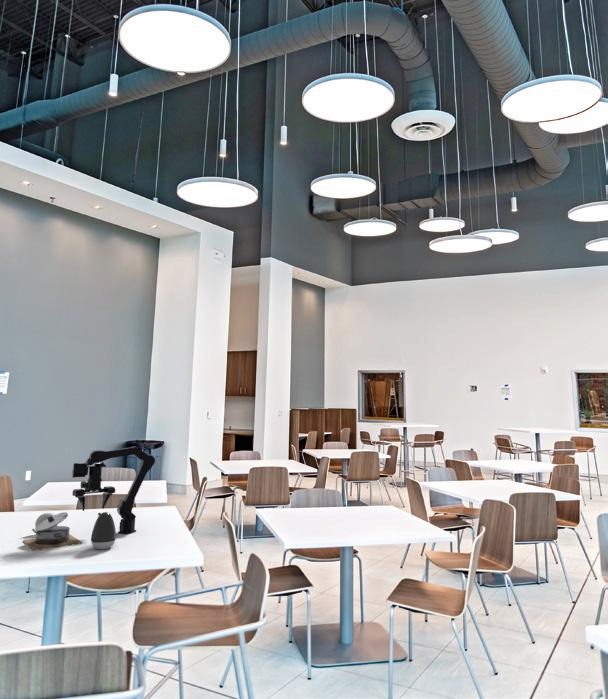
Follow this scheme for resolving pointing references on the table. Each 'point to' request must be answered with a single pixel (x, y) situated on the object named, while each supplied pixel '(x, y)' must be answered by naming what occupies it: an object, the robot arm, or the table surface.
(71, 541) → the walnut trivet
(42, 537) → the cooking pot
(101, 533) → the dark grey egg shape
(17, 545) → the table surface
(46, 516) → the donut
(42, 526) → the cooker lid
